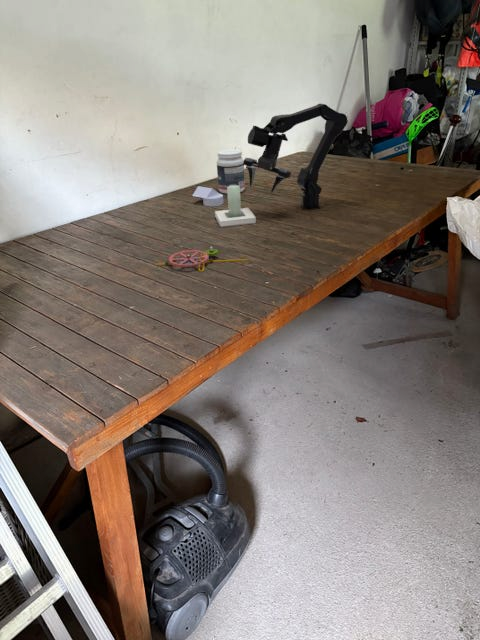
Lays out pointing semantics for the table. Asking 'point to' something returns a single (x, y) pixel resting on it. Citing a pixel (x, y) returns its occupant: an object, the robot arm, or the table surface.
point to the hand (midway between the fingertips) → (261, 189)
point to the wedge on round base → (209, 196)
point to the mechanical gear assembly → (189, 260)
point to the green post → (234, 201)
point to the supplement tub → (230, 170)
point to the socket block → (235, 218)
